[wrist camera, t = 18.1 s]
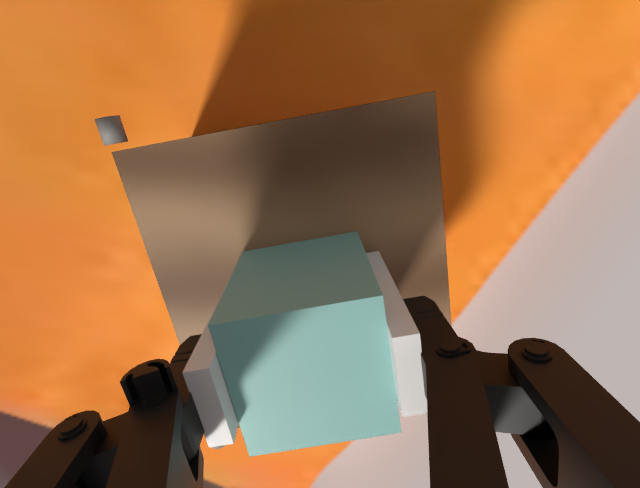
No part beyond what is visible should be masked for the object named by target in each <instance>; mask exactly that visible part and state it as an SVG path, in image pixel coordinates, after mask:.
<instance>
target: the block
mask: <svg viewBox="0 0 640 488" xmlns="http://www.w3.org/2000/svg"><path fill="white" fill-rule="evenodd" d="M208 328H209V331H210V334H211V337H212V340H213V344H214V347H215V350H216V353H217V356H218V359H219V362H220V365H221V369H222V372H223V375H224V378H225V381H226V384H227V387H228V391H229V394H230V397H231V400H232V403H233V406H234V409H235V412H236V416H237V419H238V422H239V425H240V428H241V431H242V434H243V437H244V441H245V444H246V447H247V450H248V453H249V456H257V455H263V454H269V453H276V452H282V451H288V450H295V449H301V448H307V447H314V446H320V445H326V444H333V443H339V442H345V441H352V440H358V439H364V438H370V437H376V436H383V435H389V434H396V433H401V425H400V417H399V410H398V403H397V395H396V388H395V381H394V373H393V366H392V359H391V351H390V344H389V336H388V329H387V321H386V314H385V307H384V299H383V294H382V292H381V289H380V287H379V284H378V282H377V279H376V277H375V274H374V272H373V269H372V267H371V264H370V262H369V259H368V257H367V254H366V252H365V249H364V247H363V244H362V242H361V240H360V237H359V235H358V232H357V231H355V232H350V233H344V234H339V235H333V236H327V237H322V238H316V239H310V240H305V241H299V242H293V243H288V244H282V245H276V246H271V247H265V248H259V249H254V250H248V251H243V253H242V255H241V257H240V259H239V261H238V263H237V265H236V268H235V270H234V272H233V274H232V276H231V278H230V280H229V282H228V284H227V286H226V288H225V290H224V292H223V295H222V297H221V299H220V301H219V303H218V305H217V307H216V309H215V311H214V313H213V315H212V317H211V319H210V322H209V324H208Z"/></svg>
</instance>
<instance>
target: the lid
mask: <svg viewBox="0 0 640 488" xmlns="http://www.w3.org/2000/svg"><path fill="white" fill-rule="evenodd" d="M112 154H113V157H114V160H115V163H116V166H117V169H118V171H119V174H120V177H121V180H122V183H123V185H124V188H125V191H126V194H127V197H128V200H129V202H130V205H131V208H132V211H133V214H134V216H135V219H136V222H137V225H138V228H139V231H140V233H141V236H142V239H143V242H144V245H145V247H146V250H147V253H148V256H149V259H150V262H151V264H152V267H153V270H154V273H155V276H156V278H157V281H158V284H159V287H160V290H161V293H162V295H163V298H164V301H165V304H166V307H167V309H168V312H169V315H170V318H171V321H172V324H173V326H174V329H175V332H176V335H177V338H178V340H179V343H180V345H181V344H182V343H183V342H184V341H185V340H186V339H187V338H189V337H190V336H193V335H199V334H202V333H203V331H204V329H205V327H206V325H207V323H208V321H209V319H210V317H211V315H212V313H213V311H214V309H215V307H216V305H217V303H218V301H219V299H220V297H221V295H222V293H223V291H224V289H225V287H226V285H227V283H228V281H229V279H230V277H231V276H232V274H233V272H234V270H235V268H236V265H237V263H238V261H239V259H240V257H241V255H242V253H243V251H248V250H254V249H259V248H265V247H271V246H276V245H282V244H288V243H293V242H299V241H305V240H310V239H316V238H322V237H327V236H333V235H339V234H344V233H350V232H355V231H357V232H358V235H359V237H360V240H361V242H362V244H363V247H364V249H365V252H366V253H369V252H375V251H379V253H380V255H381V257H382V259H383V261H384V263H385V265H386V267H387V269H388V271H389V273H390V275H391V277H392V279H393V281H394V283H395V285H396V287H397V289H398V291H399V293H400V295H401V297H402V299H406V298H412V297H418V296H426V297H428V298H430V299H431V300H433V301H435V303H436V304H437V306H438V307H439V309H440V310H441V312H442V313H443V315H444V317H445V318H446V319H447V321H448V322H449V324H450V325H451V312H450V298H449V284H448V269H447V255H446V241H445V226H444V212H443V198H442V183H441V169H440V155H439V140H438V126H437V112H436V98H435V91H433V92H428V93H423V94H417V95H412V96H407V97H401V98H396V99H391V100H385V101H380V102H375V103H370V104H364V105H359V106H354V107H348V108H343V109H338V110H332V111H327V112H322V113H317V114H311V115H306V116H301V117H295V118H290V119H285V120H279V121H274V122H269V123H264V124H258V125H253V126H248V127H242V128H237V129H232V130H226V131H221V132H216V133H211V134H205V135H200V136H195V137H189V138H184V139H179V140H173V141H168V142H163V143H157V144H152V145H147V146H142V147H136V148H131V149H126V150H120V151H115V152H112ZM238 428H240V425H239V424H238Z"/></svg>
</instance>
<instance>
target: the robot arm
mask: <svg viewBox="0 0 640 488" xmlns="http://www.w3.org/2000/svg"><path fill="white" fill-rule="evenodd" d="M366 254H367V257H368V259H369V262H370V264H371V267H372V269H373V272H374V274H375V277H376V279H377V282H378V284H379V287H380V289H381V292H382V294H383V299H384V307H385V314H386V321H387V329H388V336H389V344H390V351H391V359H392V366H393V373H394V381H395V388H396V395H397V400H398V404H399V407H400V410H401V414H402V417H406V416H413V415H420V414H426V413H428V436H429V437H428V438H429V461H430V463H429V464H430V488H509V487H508V483H507V478H506V475H505V470H504V466H503V462H502V458H501V453H500V449H499V445H498V441H497V437H496V433H495V432H503V433H511V435H512V437H513V439H514V441H515V442H516V444H517V446H518V447H519V449H520V451H521V452H522V454H523V456H524V457H525V459H526V461H527V462H528V464H529V465H530V467H531V469H532V471H533V472H534V474H535V475H536V477H537V479H538V481H539V482H540V483H541V485H542V487H543V488H640V422H639V421H638V420H637V419H636V418H635V417H634V416H632V414H631V413H630V412H628V411H627V410H626V409H625V408H624V407H623V406H622V405H621V404H620V403H619V402H618V401H617V400H616V399H615V398H614V397H613V396H612V395H611V394H610V393H609V392H607V391H606V390H605V389H604V388H603V387H602V386H601V385H600V384H599V383H598V382H597V381H596V380H595V379H594V378H593V377H592V376H591V375H590V374H589V373H588V372H586V371H585V370H584V369H583V368H582V367H581V366H580V365H579V364H578V363H577V362H576V361H575V360H574V359H573V358H572V357H571V356H570V355H569V354H568V353H567V352H565V350H564V349H562V348H561V347H559V346H558V345H556V344H555V343H552V342H549V341H547V340H543V339H537V338H524V339H520V340H516V341H514V342H513V343H511V344H510V345H509V348H508V354H501V353H500V354H499V353H487V352H481V351H477V350H476V349H475V348H474V346H473V344H472V343H470V342H469V341H468V340H466V339H463V338H460V337H458V336H457V335H456V333H455V331H454V330H453V328H452V327H451V325H450V324H449V322H448V321H447V319H446V318H445V317H444V315H443V313H442V312H441V310H440V309H439V307H438V306H437V304H436V303H435V301H433V300H431V299H430V298H428V297H426V296H418V297H412V298H406V299H402V297H401V295H400V293H399V291H398V289H397V287H396V285H395V283H394V281H393V279H392V277H391V275H390V273H389V271H388V269H387V267H386V265H385V263H384V261H383V259H382V257H381V255H380V253H379V251H375V252H369V253H366ZM230 278H231V277H230ZM229 280H230V279H229ZM228 282H229V281H228ZM227 284H228V283H227ZM226 286H227V285H226ZM225 288H226V287H225ZM224 290H225V289H224ZM223 292H224V291H223ZM222 295H223V293H222ZM222 295H221V297H222ZM221 297H220V299H221ZM220 299H219V301H220ZM219 301H218V303H219ZM218 303H217V305H218ZM217 305H216V307H217ZM216 307H215V309H216ZM215 309H214V311H215ZM214 311H213V313H214ZM213 313H212V315H213ZM212 315H211V317H212ZM211 317H210V319H211ZM210 319H209V321H208V323H207V325H206V327H205V329H204V331H203V333H202V334H199V335H193V336H190V337H189V338H187V339H186V340H185V341H184V342H183V343H182V344H181V345H180V346H179V348H178V350H177V352H176V353H175V356H174V357H173V358H172V360H171V363H170V364H169V362H168V361H166V360H164V359H155V360H150V361H147V362H144V363H142V364H139V365H138V366H136V367H134V368H133V369H131V370H130V371H129V372H127V373H126V374H125V375H124V376H123V378H122V379H121V381H120V383H121V386H122V388H123V390H124V393H125V395H126V397H127V400H128V402H129V405H130V408H129V411H128V412H126V413H124V414H122V415H119V416H116V417H114V418H111V419H108V420H106V421H102V419H101V417H100V415H99V413H98V412H96V411H84V412H81V413H77V414H74V415H72V416H70V417H68V418H66V419H65V420H64V421H62V422H61V423H60V424H58V425H57V426H56V427H55V428H54V429H53V430H52V431H51V432H50V433H49V434H48V435H47V436H46V437H45V439H44V440H43V441H42V443H41V444H40V445H39V446H38V447H37V448H36V450H35V451H34V452H33V453H32V455H31V456H30V457H29V458H28V460H27V461H26V462H25V463H24V464H23V466H22V467H21V468H20V469H19V471H18V472H17V473H16V474H15V476H14V477H13V478H12V479H11V480H10V482H9V483H8V484H7V485H6V487H5V488H203V464H204V459H203V455H202V451H201V449H200V443H201V440H202V437H203V434H204V435H205V438H206V441H207V443H208V446H209V447H216V446H222V445H229V444H234V440H235V436H236V432H237V428H238V424H239V422H238V419H237V416H236V412H235V409H234V406H233V403H232V400H231V397H230V394H229V391H228V387H227V384H226V381H225V378H224V375H223V372H222V369H221V365H220V362H219V359H218V356H217V353H216V350H215V347H214V344H213V340H212V337H211V334H210V331H209V328H208V324H209V322H210Z"/></svg>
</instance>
